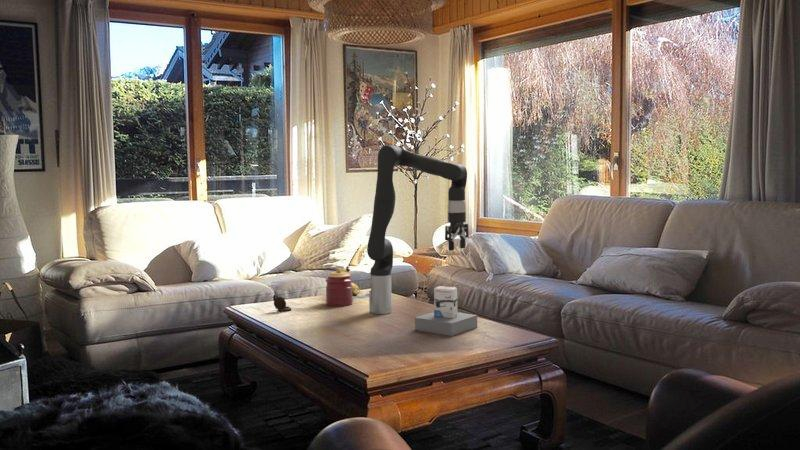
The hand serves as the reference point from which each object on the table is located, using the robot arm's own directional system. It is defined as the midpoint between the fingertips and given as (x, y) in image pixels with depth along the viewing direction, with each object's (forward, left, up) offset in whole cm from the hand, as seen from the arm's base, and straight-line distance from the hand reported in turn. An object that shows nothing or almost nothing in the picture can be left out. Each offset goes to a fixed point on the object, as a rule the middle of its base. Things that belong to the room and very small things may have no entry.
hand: (457, 249), depth 296 cm
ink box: (+6, -17, -25) cm, 31 cm away
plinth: (+6, -17, -30) cm, 35 cm away
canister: (-65, -5, -30) cm, 72 cm away
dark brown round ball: (-76, -31, -30) cm, 88 cm away
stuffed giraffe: (-75, +15, -31) cm, 83 cm away
